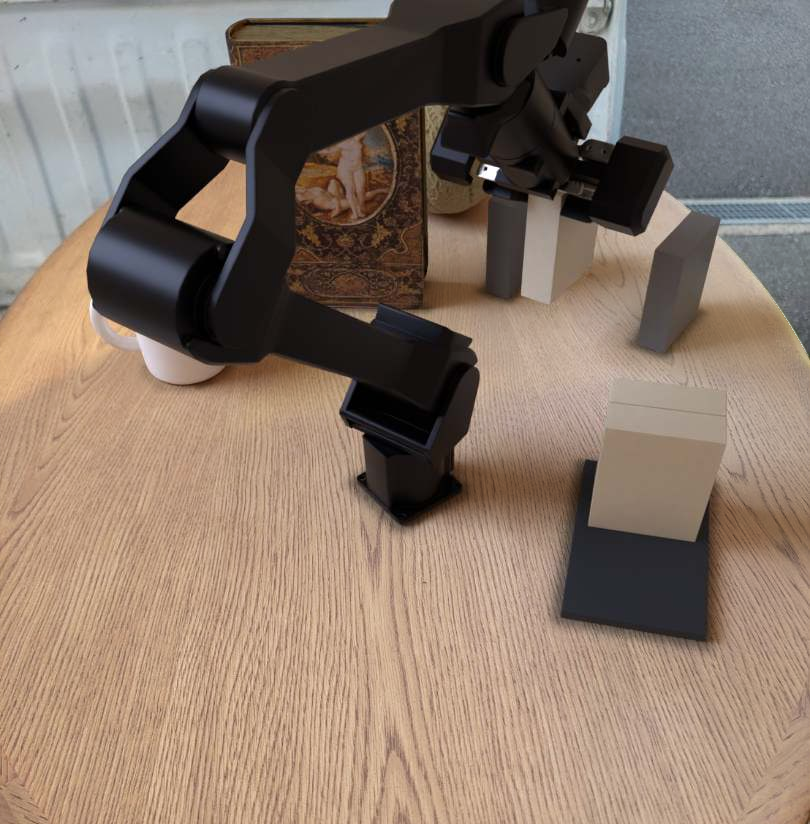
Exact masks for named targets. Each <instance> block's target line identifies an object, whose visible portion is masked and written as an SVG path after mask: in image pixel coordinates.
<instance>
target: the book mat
mask: <svg viewBox="0 0 810 824" xmlns="http://www.w3.org/2000/svg"><path fill="white" fill-rule="evenodd" d="M727 396H728V391H727V390H723V389H714V388H708V387H707V388H705V387H697V386H690V385H689V386H688V385H680V384H672V383H664V382H655V381H648V380H638V379H630V378H622V377H612V379H611V384H610V389H609V395H608V400H607V401H608V402H607V405H606V406H607V407H606V411H605V418H604V422H603V423H604V424H603V428H602V435H601V440H600V446H599V451H598V458H597V460H595V459H587V458H586V459H584V462H583V470H582V475H581V481H580V488H579V494H578V500H577V501H578V502H577V506H576V507H577V508H576V513H575V518H574V519H575V521H574V527H573V534H572V539H571V546H570V552H569V559H568V565H567V571H566V578H565V582H564V583H565V584H564V588H563V589H564V590H563V595H562V596H563V597H562V602H561V609H560V618H563V619H570V620H575V621H581V622H588V623H593V624H598V625H605V626H611V627H616V628H623V629H628V630H634V631H638V632H639V631H640V632H644V633H645V632H646V633H652V634H656V635H657V634H658V635H664V636H669V637H675V638H681V639H687V640H693V641H698V642H705V640H706V638H707V635H708V633H707V631H708V626H707V625H708V589H709V588H708V587H709V586H708V585H709V582H708V581H709V545H710V544H709V540H710V539H709V538H710V497H711V493H712V490H713V488H714V484H715V481H716V479H717V475H718V472H719V469H720V465H721V463H722V459H723V456H724V453H725V450H726V448H727V444H728V441H727V440H728V417H727V416H728V413H727V412H728V410H727V409H728V408H727V407H728V405H727V404H728V402H727V401H728V397H727Z"/></svg>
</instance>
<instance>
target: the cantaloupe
mask: <svg viewBox="0 0 810 824" xmlns="http://www.w3.org/2000/svg"><path fill="white" fill-rule="evenodd" d="M447 108H448V106H444V105H433V106H425V132H426V174H427V213H428V212H429V213H431V214H458V213H463V212H465V211H468V210H469V209H471V208H474V207H475V206H477V205H479V204H480V203H481V202H482V201H483V200H484V199H486V198H487V197H488V196H491V195H490V194H486V193H485V192H484V191H483V188H482V185H483V182H484V180H485V179H482V178H479V177H478V176H477V175H476V172H477V169H478V167H479V164H480V162H479V161H478V160H477V158H476V159H475V161H474V164H473V166H472V169H471V171H470V173H469V174H470V175H471V176H472V177H473V178H474V179H473V181H472V183H471V185H470V186H467V187H465V186H462V185H459V184H455V183H452V182H448V181H445V180H442V179H440V178H439V177H438V176H437V175H436V174H435V173H434V172H433V171H432V170H431V166H430V150H431V148H432V145H433V143H434V140H435V138H436V135H437V133H438V131H439V128H440V126H441V123H442V121H443V118H444V116H445V113H446V111H447Z"/></svg>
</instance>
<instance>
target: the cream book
mask: <svg viewBox="0 0 810 824" xmlns="http://www.w3.org/2000/svg"><path fill="white" fill-rule="evenodd" d="M579 160H582V158H581V157H580V158H579ZM568 179H569V178H568ZM567 195H568V193H564V192H561V191H557V193H556V195H555V198H554V200H553V201H552V200H548V199H545V198H541V197H538V196H534V195H531V194H529V197H528V209H527V222H526V235H525V248H524V261H523V274H522V287H521V288H520V296H522V297H523V298H527V299H531V300H533V301H535V302H539V303H541V304H544V305H547V306H552V305H553V303H554V302H556V300H558V298H560V297H561V296H562V295H563V294H564V293H565V292H566V291H567V290H568V289H569V288H570V287H572V285H573V284H574V283H575V282H576V281H577V280H578V279H579V278H580V277H582V275H583V274H584V273H585V272H587V271H588V269H590V267H592V266H593V264H594V263H593V262H594V255H595V249H596V242H597V234H598V227H599V225H598V224H597V223H595V222H593V223H590V224H588V223H584V222H580V221H577V220H574V219H570V218H567V217H564V216H560V215H559V214H560V211H561V209H562V207H563V204H564V202H565V200H566V198H567Z"/></svg>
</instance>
